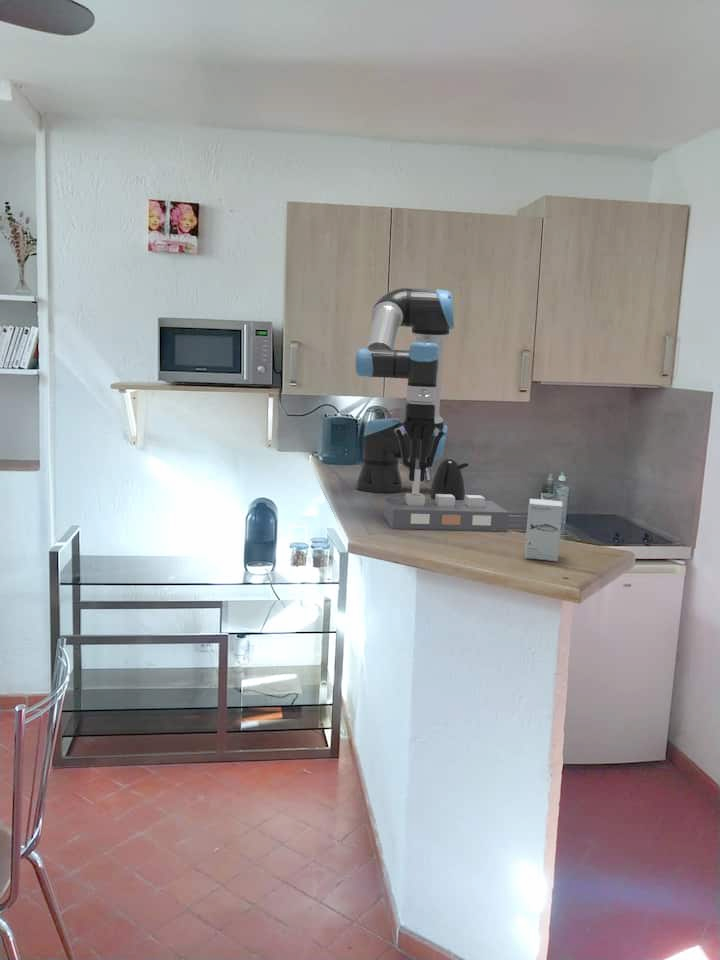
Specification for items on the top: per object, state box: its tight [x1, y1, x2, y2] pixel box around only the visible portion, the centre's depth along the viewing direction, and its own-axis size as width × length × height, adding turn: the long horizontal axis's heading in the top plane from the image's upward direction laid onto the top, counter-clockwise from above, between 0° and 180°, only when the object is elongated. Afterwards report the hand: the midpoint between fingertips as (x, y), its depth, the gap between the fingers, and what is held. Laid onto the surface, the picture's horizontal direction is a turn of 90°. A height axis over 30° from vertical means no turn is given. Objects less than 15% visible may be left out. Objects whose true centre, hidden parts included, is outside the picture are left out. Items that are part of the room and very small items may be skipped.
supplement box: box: [524, 498, 564, 563], centre depth 177 cm, size 7×7×13 cm
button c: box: [464, 494, 486, 508], centre depth 210 cm, size 4×4×4 cm
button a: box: [404, 492, 426, 506], centre depth 208 cm, size 4×4×4 cm
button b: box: [435, 494, 455, 507], centre depth 209 cm, size 4×4×4 cm
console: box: [382, 497, 510, 532], centre depth 209 cm, size 16×30×5 cm, turn 96°
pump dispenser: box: [429, 458, 469, 500], centre depth 227 cm, size 10×10×15 cm
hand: (415, 493), depth 208 cm, fingers closed
